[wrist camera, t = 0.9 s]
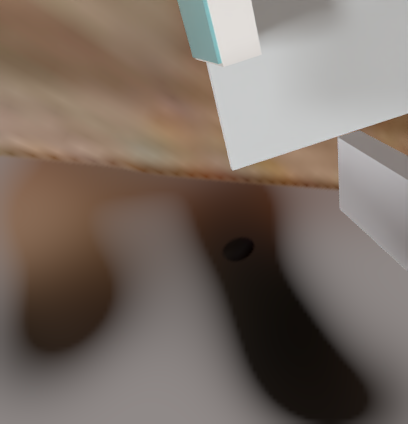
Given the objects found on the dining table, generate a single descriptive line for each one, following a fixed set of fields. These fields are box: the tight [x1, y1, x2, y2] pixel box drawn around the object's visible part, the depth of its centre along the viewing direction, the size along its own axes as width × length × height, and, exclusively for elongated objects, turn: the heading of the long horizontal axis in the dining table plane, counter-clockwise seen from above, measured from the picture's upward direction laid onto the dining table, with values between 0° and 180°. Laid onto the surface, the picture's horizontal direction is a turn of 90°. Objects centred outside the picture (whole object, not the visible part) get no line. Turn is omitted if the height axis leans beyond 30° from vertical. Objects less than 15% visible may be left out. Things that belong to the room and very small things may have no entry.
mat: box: [206, 0, 408, 170], centre depth 31 cm, size 15×20×1 cm
